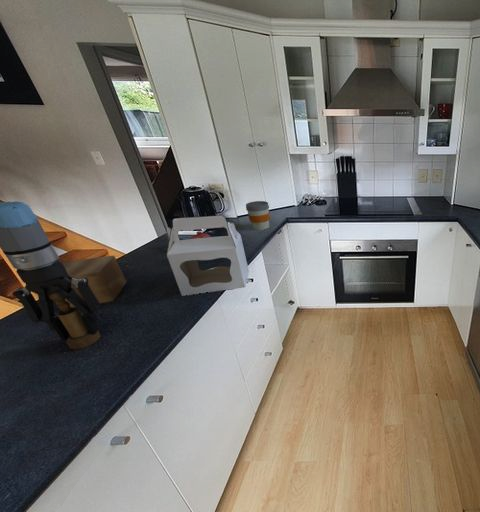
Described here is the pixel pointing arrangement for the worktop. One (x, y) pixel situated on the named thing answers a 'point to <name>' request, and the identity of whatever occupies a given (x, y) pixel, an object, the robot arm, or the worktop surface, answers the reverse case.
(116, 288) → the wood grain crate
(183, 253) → the gable box
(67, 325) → the mortar and pestle
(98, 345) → the worktop surface
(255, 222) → the reusable coffee cup
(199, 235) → the butter dish
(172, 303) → the worktop surface
